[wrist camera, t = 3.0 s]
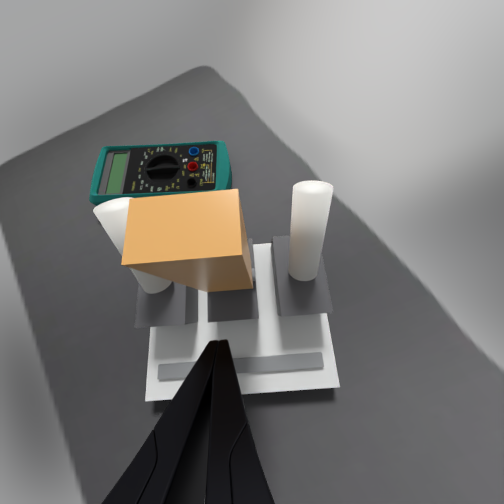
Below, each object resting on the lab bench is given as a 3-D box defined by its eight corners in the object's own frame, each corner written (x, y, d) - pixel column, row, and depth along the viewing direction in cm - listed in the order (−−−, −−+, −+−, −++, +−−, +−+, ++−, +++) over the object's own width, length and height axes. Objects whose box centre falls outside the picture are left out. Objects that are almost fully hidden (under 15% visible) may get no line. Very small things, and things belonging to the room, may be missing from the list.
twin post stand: (332, 380, 16) (457, 501, 6) (155, 393, 16) (-17, 530, 6) (308, 237, 20) (359, 161, 10) (163, 249, 20) (64, 188, 10)
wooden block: (256, 289, 14) (249, 254, 5) (206, 293, 14) (113, 265, 5) (253, 262, 14) (244, 188, 6) (206, 266, 14) (122, 199, 6)
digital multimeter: (232, 208, 22) (227, 193, 19) (103, 213, 22) (80, 199, 19) (232, 155, 24) (229, 134, 21) (115, 161, 24) (96, 141, 21)
